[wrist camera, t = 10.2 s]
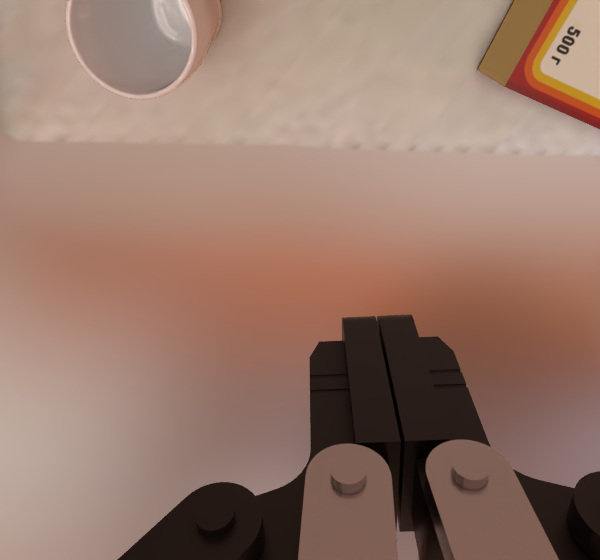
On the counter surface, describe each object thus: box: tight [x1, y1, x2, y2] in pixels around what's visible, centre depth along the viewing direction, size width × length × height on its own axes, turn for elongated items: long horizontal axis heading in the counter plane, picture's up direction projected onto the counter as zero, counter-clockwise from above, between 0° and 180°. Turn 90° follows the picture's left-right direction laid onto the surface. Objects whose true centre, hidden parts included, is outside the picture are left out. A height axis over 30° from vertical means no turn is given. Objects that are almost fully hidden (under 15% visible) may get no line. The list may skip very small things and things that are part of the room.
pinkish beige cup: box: [65, 0, 222, 100], centre depth 33 cm, size 7×7×15 cm
